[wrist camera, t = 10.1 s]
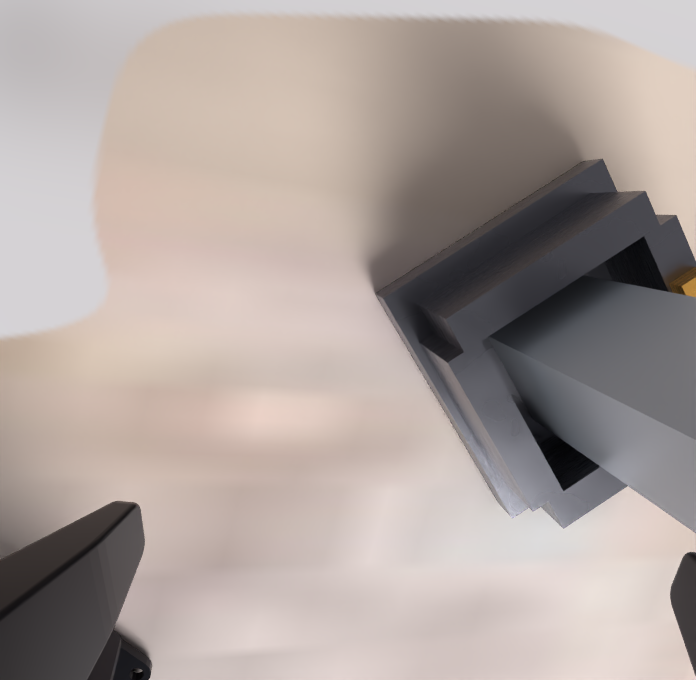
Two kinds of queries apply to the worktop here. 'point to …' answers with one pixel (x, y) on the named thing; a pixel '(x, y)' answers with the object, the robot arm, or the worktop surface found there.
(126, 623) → the worktop surface
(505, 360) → the tall grey box
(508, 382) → the dark grey tray
